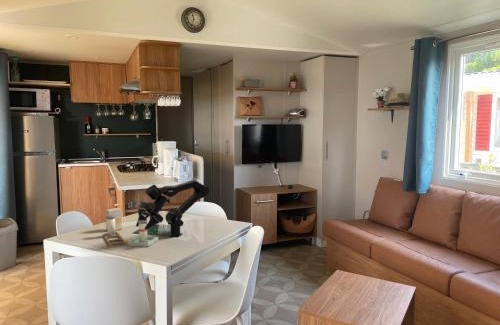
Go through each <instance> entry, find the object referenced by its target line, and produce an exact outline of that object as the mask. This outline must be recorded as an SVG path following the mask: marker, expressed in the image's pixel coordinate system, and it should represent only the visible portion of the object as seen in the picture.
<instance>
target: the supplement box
mask: <svg viewBox="0 0 500 325" xmlns="http://www.w3.org/2000/svg"><path fill="white" fill-rule="evenodd" d="M122 213H123V212H122V208H119V207H114V208H108V209H105V223H106V228H107V216H108V215H115V231H119V230H123V216H122V215H123V214H122Z"/></svg>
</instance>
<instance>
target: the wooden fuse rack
mask: <svg viewBox="0 0 500 325" xmlns="http://www.w3.org/2000/svg"><path fill="white" fill-rule="evenodd" d="M115 233H116V235H115V236H107V233H102V236H103V238H104V240H105V242H106V243H107V245H108V246H109V247H114V246H115V247H116V246H123V245H127V244H128V241H129V240H125V238H123V237H122V236H121V234H120V233H119V232H118V231H115Z"/></svg>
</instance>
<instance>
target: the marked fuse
mask: <svg viewBox="0 0 500 325" xmlns="http://www.w3.org/2000/svg"><path fill="white" fill-rule="evenodd" d="M137 221H138V223H139V226H138V236H139V242H145V243H147V242H148V238H147V236H148V229H147V230H145V227H146V225H147V223H148V219H147V220H145V219H143V220H138V219H137Z"/></svg>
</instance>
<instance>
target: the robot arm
mask: <svg viewBox="0 0 500 325" xmlns="http://www.w3.org/2000/svg"><path fill="white" fill-rule="evenodd" d="M190 189H193V193H192V194H191V195H190V196H189V197H188V198H187V199H186V200H185V201H184V202H182V203H181V204H180V205H179V206H178V207H177V208H171V209H169V211H168V212H166V214H165V221H166V223H167V225H169V226H170V228H169V229H170V234H168V236H167V237H172V238H174V237H175V238H179V237H180V236H182V235H183V234H184V233H182V232H181V227H182V226H184V221H183V220H182V218H183V215H184V214H185V213H186V212H187V211H188V210H189V209H190V208H192V206H193V205H194V204H195V203H197V202H198V201H199V200H202V199H203V198H205V197H207V196H208V195H209V194H210V188H209V187H208V186H206V185H203V184H202V183H201V182H199V181H198V180H194V179H191V180H189V181H186V182H183V183H178V184H176V185H164V186H162V188H158V186H157V185H156V184H152V185H150V186H149V187H148V188H146V190H145V194H146V195H147V196H148V198H150V199H151V200H152V201H153V202H150V201H148V202H144V201H141V203H140V206H139V208H138V209H137V210H136V211H137V215H138V218H137V220H136V224H135V226H136V227H138V228H139V223H138V220H143V219H145V220H147V225H146V227H145V230H147V231H148V229H150V228H152V227H153V226H156V225H157V224H162V223H163V221H164V217H163V216H162V215H161V214H160V213H159V212H162V211H163V208H164V207H165V205H166V204H171V201H170V198H172V197H175V196H176V195H177V194H178V193H181V192H184V191H186V190H190ZM148 218H149V220H148Z"/></svg>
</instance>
